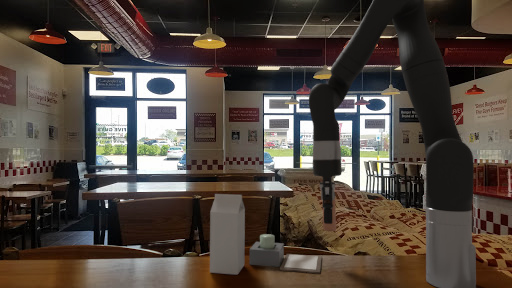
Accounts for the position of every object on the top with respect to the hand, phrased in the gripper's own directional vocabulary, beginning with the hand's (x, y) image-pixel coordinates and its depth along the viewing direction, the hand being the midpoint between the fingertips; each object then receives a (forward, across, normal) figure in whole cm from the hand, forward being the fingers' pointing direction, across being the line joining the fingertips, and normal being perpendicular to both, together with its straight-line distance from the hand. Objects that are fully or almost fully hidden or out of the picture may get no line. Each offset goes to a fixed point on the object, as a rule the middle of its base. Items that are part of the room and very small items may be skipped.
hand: (328, 221), depth 93 cm
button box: (+11, -2, +17) cm, 20 cm away
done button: (+9, -2, +17) cm, 19 cm away
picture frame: (+11, -2, +7) cm, 13 cm away
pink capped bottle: (+2, 0, 0) cm, 2 cm away
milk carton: (+11, -11, +25) cm, 29 cm away
